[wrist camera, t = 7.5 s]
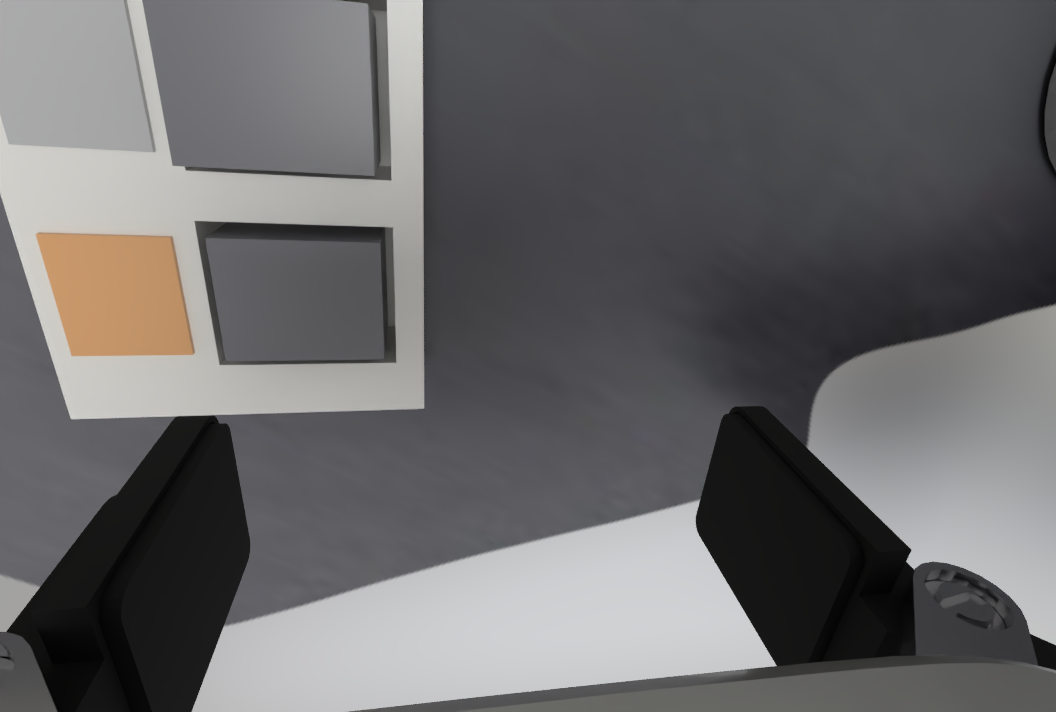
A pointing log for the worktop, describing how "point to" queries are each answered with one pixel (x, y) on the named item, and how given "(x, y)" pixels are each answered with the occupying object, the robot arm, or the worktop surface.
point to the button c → (300, 291)
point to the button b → (268, 84)
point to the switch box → (185, 222)
